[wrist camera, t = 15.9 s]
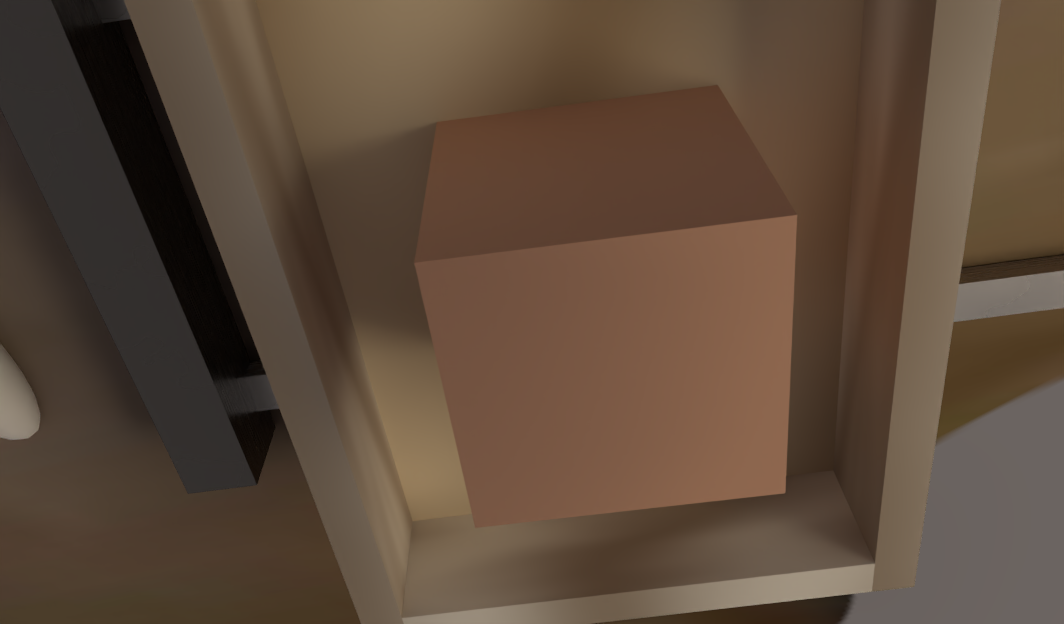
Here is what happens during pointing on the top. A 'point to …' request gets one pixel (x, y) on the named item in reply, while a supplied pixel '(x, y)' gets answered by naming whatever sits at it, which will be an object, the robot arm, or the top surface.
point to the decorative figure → (16, 401)
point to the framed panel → (179, 251)
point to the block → (609, 306)
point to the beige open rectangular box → (399, 314)
